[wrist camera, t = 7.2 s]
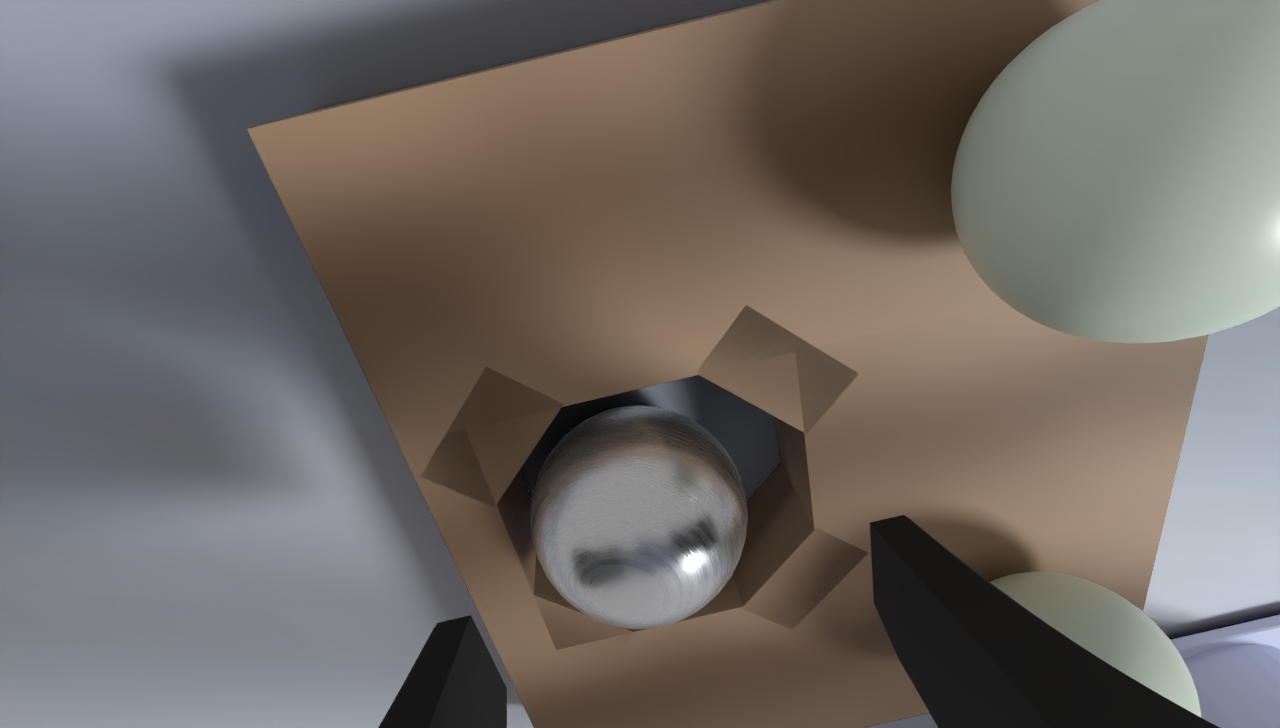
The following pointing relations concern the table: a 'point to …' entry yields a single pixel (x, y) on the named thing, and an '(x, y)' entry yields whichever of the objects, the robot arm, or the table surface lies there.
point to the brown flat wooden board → (730, 336)
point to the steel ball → (638, 517)
